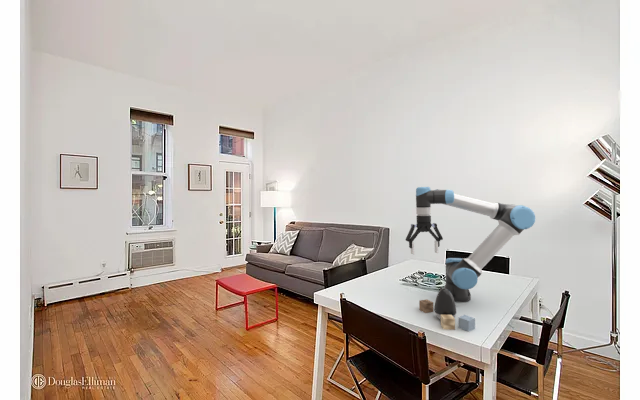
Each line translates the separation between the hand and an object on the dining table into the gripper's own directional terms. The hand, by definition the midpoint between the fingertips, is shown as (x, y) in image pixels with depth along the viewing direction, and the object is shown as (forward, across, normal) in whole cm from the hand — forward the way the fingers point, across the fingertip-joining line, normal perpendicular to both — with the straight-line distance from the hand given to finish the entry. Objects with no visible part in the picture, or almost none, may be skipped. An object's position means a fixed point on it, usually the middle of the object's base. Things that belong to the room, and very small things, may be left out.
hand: (424, 253), depth 174 cm
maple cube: (+29, +2, +29) cm, 41 cm away
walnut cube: (+29, +3, +9) cm, 30 cm away
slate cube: (+29, -6, +31) cm, 43 cm away
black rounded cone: (+29, -2, +20) cm, 35 cm away
